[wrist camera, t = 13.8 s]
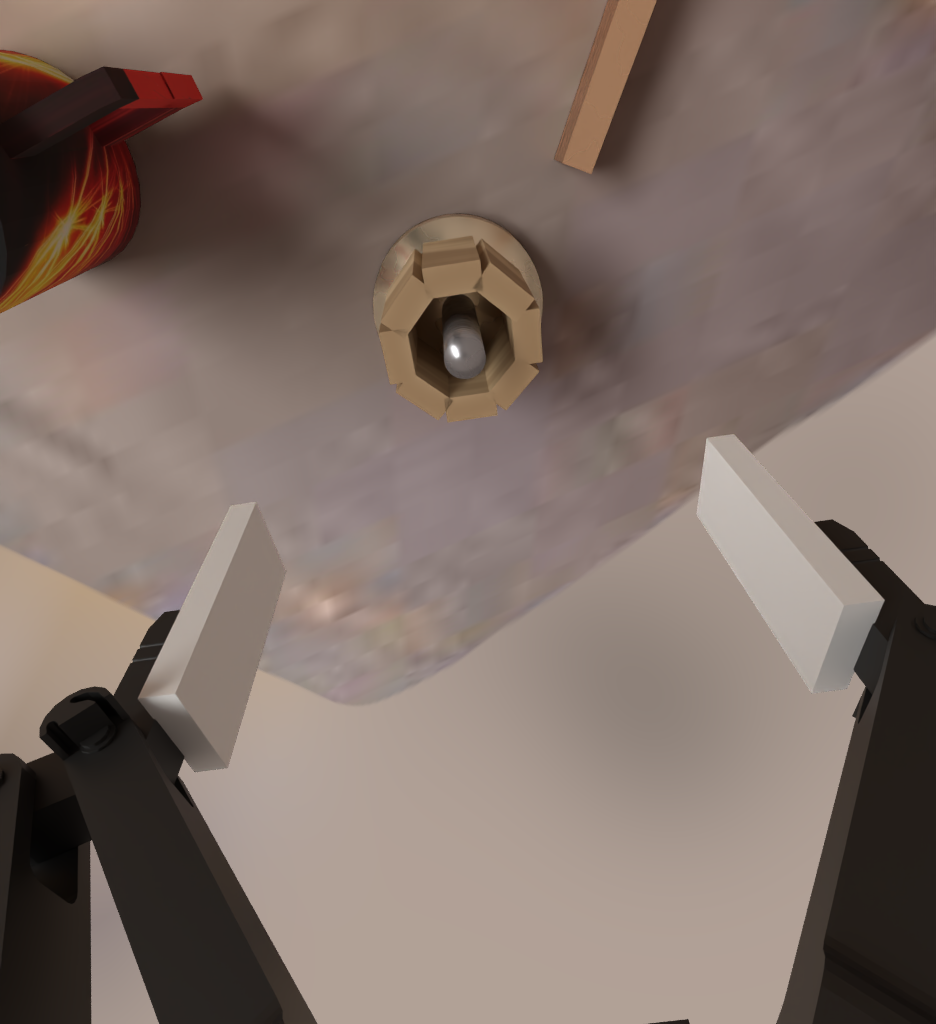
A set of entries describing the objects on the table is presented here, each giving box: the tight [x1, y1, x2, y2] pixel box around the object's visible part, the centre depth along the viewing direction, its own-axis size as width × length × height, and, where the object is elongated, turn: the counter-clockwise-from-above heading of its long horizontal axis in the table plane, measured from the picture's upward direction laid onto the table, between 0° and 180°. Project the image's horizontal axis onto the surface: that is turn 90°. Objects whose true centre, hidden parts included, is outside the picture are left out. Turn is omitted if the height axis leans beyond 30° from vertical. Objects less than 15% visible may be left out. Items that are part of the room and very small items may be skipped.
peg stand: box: [373, 214, 543, 379], centre depth 31 cm, size 10×10×9 cm
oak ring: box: [379, 236, 543, 422], centre depth 31 cm, size 8×8×6 cm
